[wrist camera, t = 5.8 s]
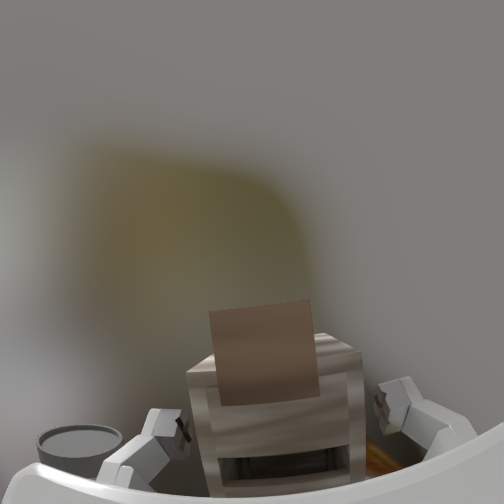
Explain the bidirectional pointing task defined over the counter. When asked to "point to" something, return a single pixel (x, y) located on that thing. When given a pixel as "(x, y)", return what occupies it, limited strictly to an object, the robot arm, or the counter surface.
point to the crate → (284, 431)
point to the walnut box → (265, 353)
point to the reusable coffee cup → (78, 448)
